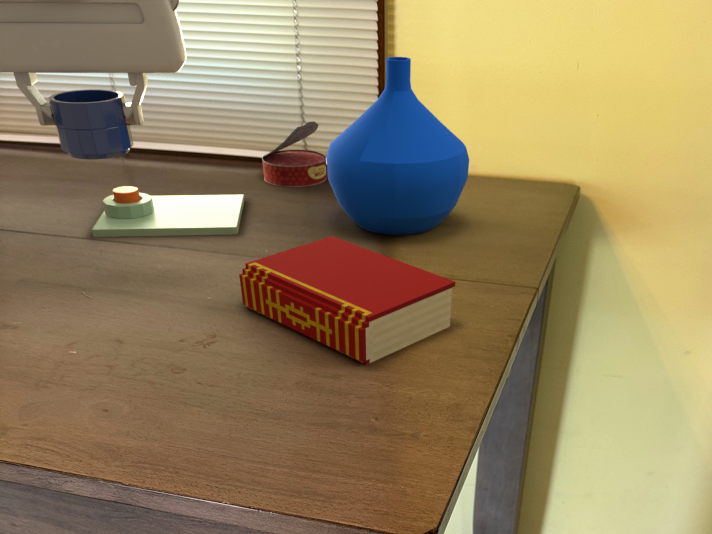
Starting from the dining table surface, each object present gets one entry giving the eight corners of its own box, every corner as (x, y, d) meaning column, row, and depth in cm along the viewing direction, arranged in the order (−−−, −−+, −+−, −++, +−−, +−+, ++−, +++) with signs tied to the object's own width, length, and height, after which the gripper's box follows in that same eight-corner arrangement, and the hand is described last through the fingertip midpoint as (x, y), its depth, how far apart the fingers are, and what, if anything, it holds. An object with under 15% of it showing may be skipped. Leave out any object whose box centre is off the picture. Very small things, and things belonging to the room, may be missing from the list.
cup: (55, 161, 74) (40, 103, 71) (72, 143, 79) (59, 89, 76) (126, 160, 75) (115, 103, 71) (139, 143, 80) (129, 89, 77)
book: (244, 312, 80) (238, 265, 76) (333, 280, 87) (331, 236, 83) (362, 371, 70) (361, 320, 67) (452, 329, 77) (455, 281, 74)
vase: (366, 257, 92) (362, 77, 80) (308, 215, 105) (297, 52, 92) (491, 235, 99) (505, 65, 87) (423, 197, 111) (427, 43, 99)
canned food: (288, 219, 117) (253, 161, 109) (271, 193, 124) (238, 137, 116) (349, 177, 116) (319, 117, 109) (329, 154, 123) (299, 95, 115)
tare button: (113, 205, 98) (110, 193, 97) (117, 198, 101) (115, 186, 100) (138, 205, 98) (135, 192, 97) (142, 198, 101) (139, 185, 100)
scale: (94, 241, 96) (88, 216, 94) (115, 206, 106) (110, 184, 104) (238, 238, 97) (234, 213, 95) (244, 204, 108) (242, 182, 106)
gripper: (177, -51, 70) (201, 117, 79) (-53, -55, 68) (-2, 117, 77) (167, -48, 65) (194, 131, 74) (-81, -51, 63) (-23, 132, 72)
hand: (92, 124), depth 75 cm, fingers closed on cup, 7 cm apart
